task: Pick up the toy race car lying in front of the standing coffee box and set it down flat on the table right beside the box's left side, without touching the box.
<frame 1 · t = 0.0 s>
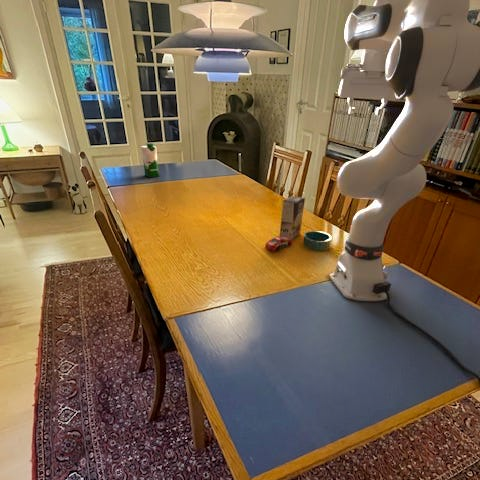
hand: (364, 114, 119), 48 cm above the table, tool pointing down, fingers open, 8 cm apart
milk carton: (152, 176, 233), on the table
teal bowl: (315, 246, 144), on the table
coffee box: (289, 235, 153), on the table
race car: (278, 247, 143), on the table
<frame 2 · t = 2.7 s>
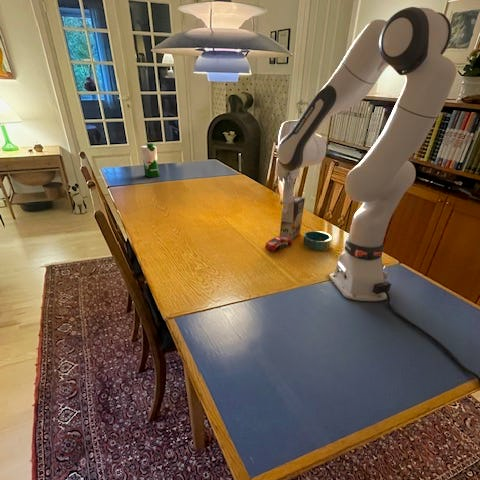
hand: (283, 207, 133), 16 cm above the table, tool pointing down, fingers open, 8 cm apart
nothing on the table moved.
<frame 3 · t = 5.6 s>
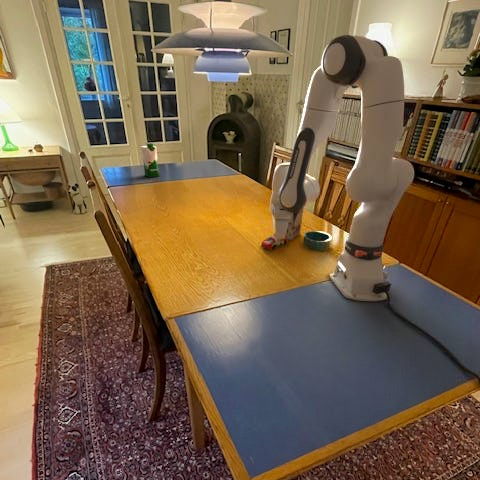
hand: (276, 239, 142), 3 cm above the table, tool pointing down, fingers closed on race car, 6 cm apart
race car: (274, 246, 144), on the table, touching gripper
everything else where it was.
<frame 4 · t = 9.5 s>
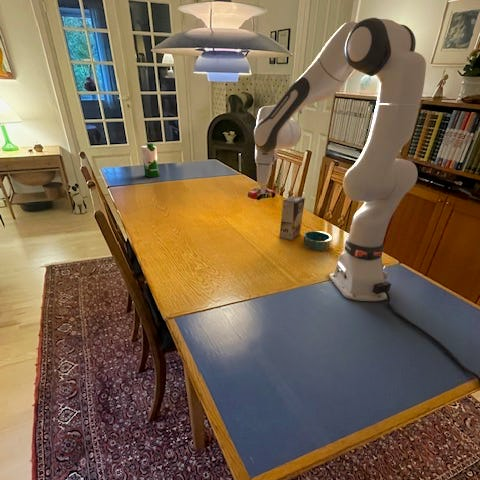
hand: (263, 190, 141), 19 cm above the table, tool pointing down, fingers closed on race car, 6 cm apart
race car: (261, 198, 143), point 16 cm above the table, touching gripper
everything else where it was.
when the fingers open (3 cm above the table, at t = 14.0 s): race car stays where it is, on the table.
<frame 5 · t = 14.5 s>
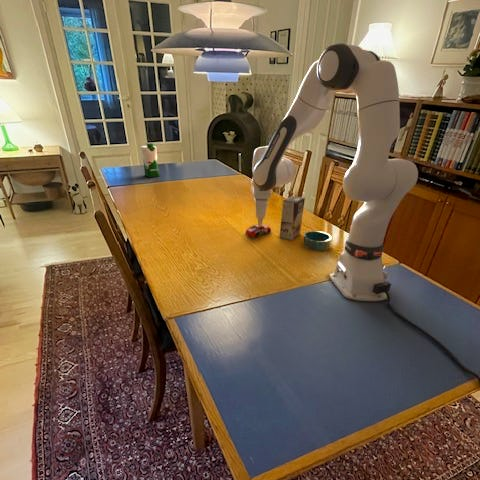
hand: (260, 221, 149), 6 cm above the table, tool pointing down, fingers open, 8 cm apart
race car: (258, 234, 154), on the table
everything else where it was.
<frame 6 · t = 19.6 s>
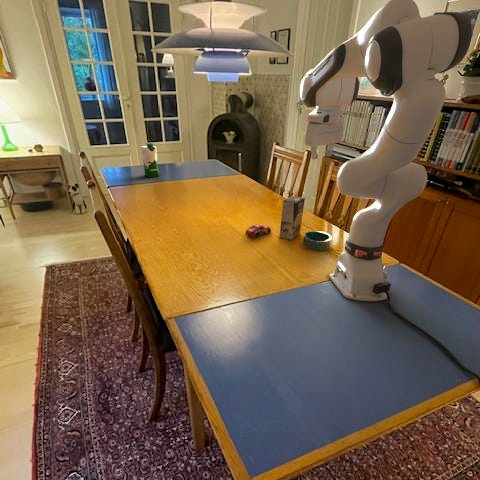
hand: (321, 157, 130), 33 cm above the table, tool pointing down, fingers open, 8 cm apart
nothing on the table moved.
at the end: race car inside the target area on the table beside the coffee box (0.6 cm from its centre), on the table; race car tilted 2°; coffee box moved 0.2 cm from its start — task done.
